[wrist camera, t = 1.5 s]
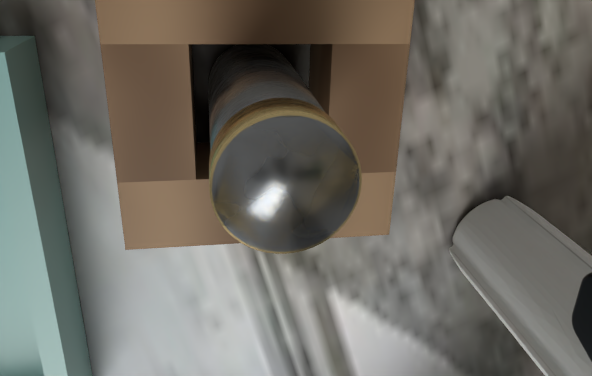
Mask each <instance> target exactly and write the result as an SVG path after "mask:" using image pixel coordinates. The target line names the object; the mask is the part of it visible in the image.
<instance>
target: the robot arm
mask: <svg viewBox="0 0 592 376" xmlns="http://www.w3.org/2000/svg"><path fill="white" fill-rule="evenodd" d="M572 326H573V329H574V332H575V334H576V335H577V337H578V339H579V341H580V343H581V344H582V346H583V348H584V350H585V351H586V353H587V355H588V357H589V358H590V360H591V362H592V272H591V273H589V274H586V275H585V277H584V278H583V279H582V282H581V285H580V288H579V292H578V295H577V299H576V302H575V305H574V309H573V312H572Z"/></svg>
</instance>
